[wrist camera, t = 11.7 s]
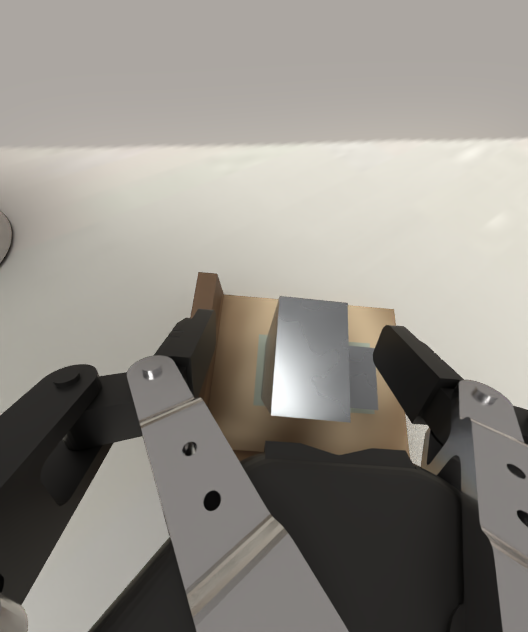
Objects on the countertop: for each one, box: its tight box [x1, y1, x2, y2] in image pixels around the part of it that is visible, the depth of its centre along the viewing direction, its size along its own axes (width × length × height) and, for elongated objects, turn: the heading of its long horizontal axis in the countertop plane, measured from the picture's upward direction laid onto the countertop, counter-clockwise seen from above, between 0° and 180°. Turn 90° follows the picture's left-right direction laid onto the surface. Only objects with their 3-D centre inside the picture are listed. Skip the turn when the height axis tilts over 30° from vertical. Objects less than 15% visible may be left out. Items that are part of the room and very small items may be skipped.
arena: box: [208, 295, 410, 458], centre depth 17 cm, size 15×12×1 cm
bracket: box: [261, 296, 378, 423], centre depth 12 cm, size 8×4×9 cm, turn 85°
